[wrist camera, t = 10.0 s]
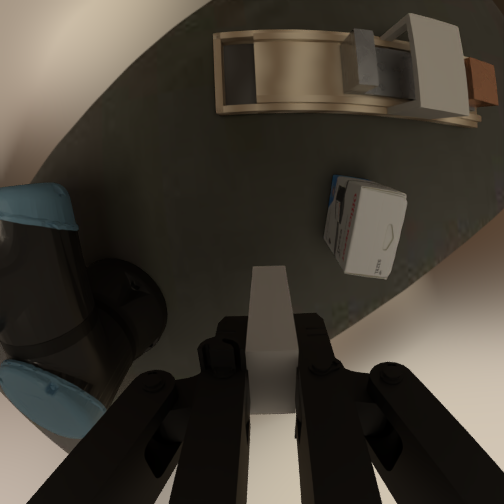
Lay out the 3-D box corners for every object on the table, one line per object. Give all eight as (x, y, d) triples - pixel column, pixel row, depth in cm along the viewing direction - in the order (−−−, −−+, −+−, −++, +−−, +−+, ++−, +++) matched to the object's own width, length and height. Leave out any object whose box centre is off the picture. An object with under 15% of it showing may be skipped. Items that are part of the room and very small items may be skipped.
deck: (219, 115, 35) (214, 112, 31) (216, 41, 32) (211, 30, 28) (465, 127, 33) (481, 127, 29) (459, 61, 30) (474, 56, 26)
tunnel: (387, 114, 31) (420, 107, 23) (380, 36, 28) (408, 12, 20) (430, 119, 31) (469, 115, 23) (423, 45, 28) (457, 26, 20)
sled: (343, 93, 30) (359, 83, 25) (339, 45, 28) (353, 28, 23) (470, 111, 30) (498, 109, 24) (466, 68, 28) (493, 61, 22)
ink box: (332, 172, 37) (361, 184, 25) (369, 179, 37) (409, 194, 25) (321, 239, 39) (342, 275, 28) (357, 244, 39) (389, 281, 28)
